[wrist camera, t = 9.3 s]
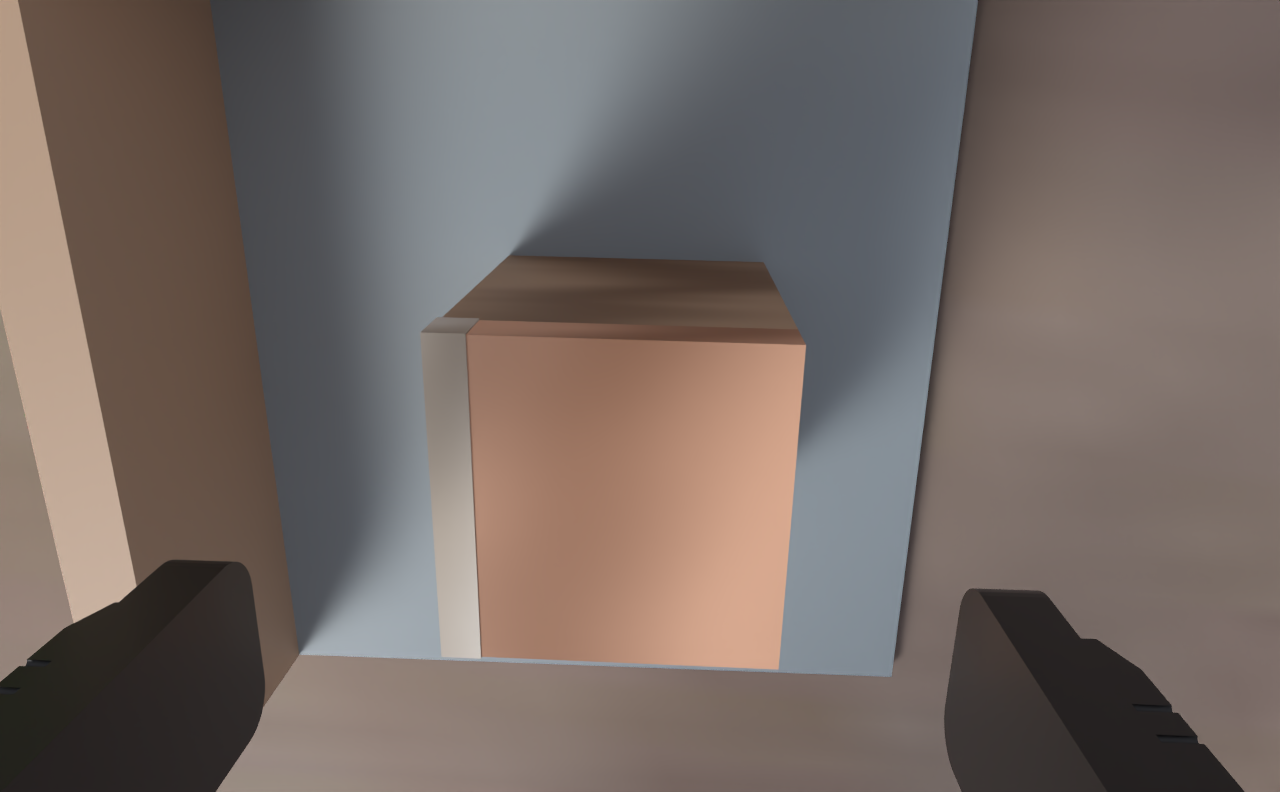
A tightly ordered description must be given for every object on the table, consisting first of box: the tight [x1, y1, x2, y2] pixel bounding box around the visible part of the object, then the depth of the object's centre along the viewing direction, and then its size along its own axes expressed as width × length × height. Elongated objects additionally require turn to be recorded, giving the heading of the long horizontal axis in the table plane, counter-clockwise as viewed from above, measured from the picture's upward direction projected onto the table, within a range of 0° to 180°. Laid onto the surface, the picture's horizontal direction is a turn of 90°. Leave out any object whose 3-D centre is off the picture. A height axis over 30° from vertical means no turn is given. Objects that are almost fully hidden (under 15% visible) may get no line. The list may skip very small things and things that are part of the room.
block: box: [420, 255, 806, 670], centre depth 15 cm, size 5×5×6 cm
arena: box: [0, 0, 978, 707], centre depth 15 cm, size 16×15×5 cm
